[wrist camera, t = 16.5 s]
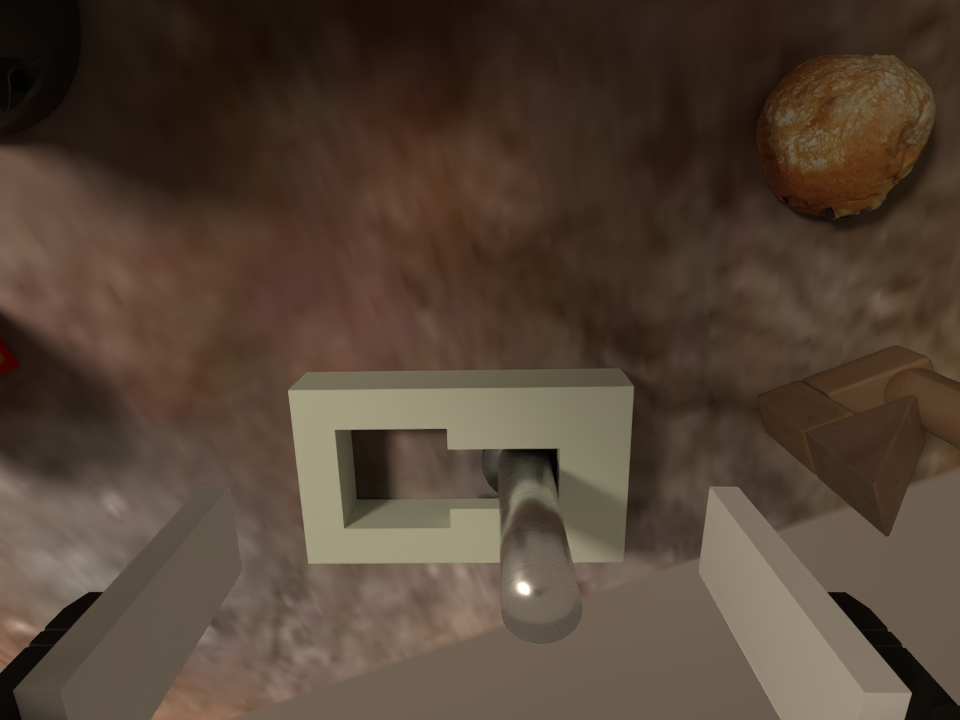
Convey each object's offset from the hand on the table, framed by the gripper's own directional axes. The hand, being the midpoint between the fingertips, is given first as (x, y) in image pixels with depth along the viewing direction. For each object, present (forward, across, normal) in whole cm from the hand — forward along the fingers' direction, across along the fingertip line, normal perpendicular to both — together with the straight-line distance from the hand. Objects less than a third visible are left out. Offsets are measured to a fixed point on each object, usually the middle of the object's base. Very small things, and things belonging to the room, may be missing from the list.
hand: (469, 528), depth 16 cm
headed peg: (+28, +4, -12) cm, 30 cm away
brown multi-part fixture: (+28, +27, -6) cm, 39 cm away
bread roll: (+28, +24, +12) cm, 39 cm away
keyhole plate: (+28, -1, -12) cm, 30 cm away
